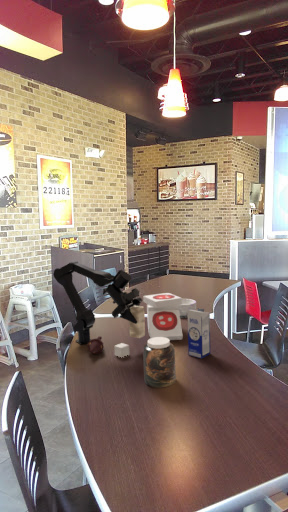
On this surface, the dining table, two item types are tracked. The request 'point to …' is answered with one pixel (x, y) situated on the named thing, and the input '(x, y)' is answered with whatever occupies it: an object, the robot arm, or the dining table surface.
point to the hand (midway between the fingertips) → (139, 321)
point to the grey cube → (121, 350)
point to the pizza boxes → (164, 316)
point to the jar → (159, 362)
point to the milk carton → (198, 333)
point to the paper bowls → (186, 306)
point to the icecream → (95, 345)
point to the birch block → (138, 328)
